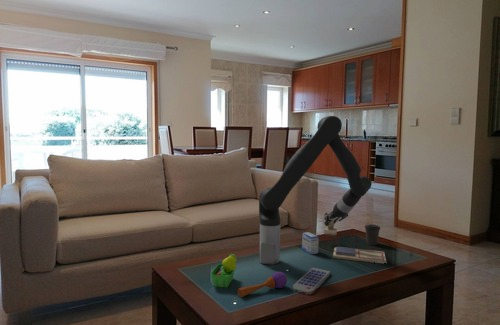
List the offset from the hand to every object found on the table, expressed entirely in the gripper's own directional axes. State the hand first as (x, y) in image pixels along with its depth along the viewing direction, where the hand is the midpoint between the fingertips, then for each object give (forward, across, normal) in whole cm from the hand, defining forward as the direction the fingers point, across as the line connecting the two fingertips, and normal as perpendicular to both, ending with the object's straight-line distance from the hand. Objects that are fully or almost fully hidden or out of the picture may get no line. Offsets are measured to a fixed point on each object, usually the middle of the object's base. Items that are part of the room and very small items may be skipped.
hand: (328, 224), depth 187 cm
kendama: (-19, +56, +35) cm, 68 cm away
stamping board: (-8, -3, +22) cm, 24 cm away
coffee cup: (+1, -22, +13) cm, 26 cm away
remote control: (-18, +34, +35) cm, 52 cm away
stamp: (+2, 0, +5) cm, 5 cm away
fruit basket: (-10, +66, +26) cm, 72 cm away
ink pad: (-5, +2, +19) cm, 20 cm away
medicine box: (+3, +16, +13) cm, 20 cm away
